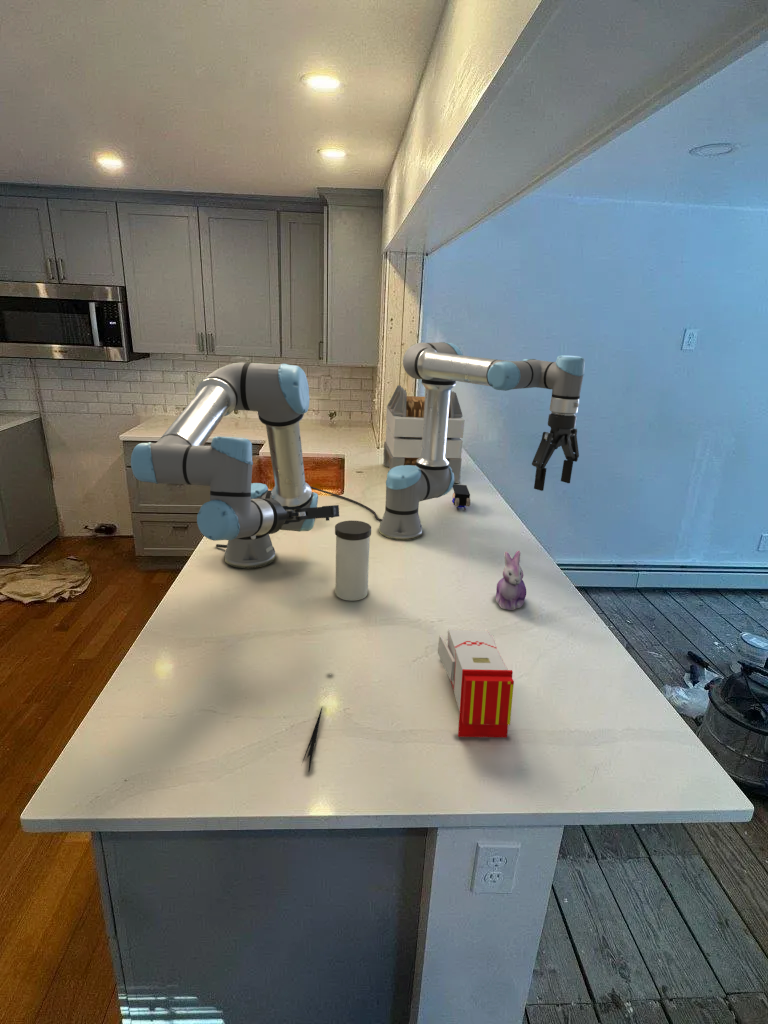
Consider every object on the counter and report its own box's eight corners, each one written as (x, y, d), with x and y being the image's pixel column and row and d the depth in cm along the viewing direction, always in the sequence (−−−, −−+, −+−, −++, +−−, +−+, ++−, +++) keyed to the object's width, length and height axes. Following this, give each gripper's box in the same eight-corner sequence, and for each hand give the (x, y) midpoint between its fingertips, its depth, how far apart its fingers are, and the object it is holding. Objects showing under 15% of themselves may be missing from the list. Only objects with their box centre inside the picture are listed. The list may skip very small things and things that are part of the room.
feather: (331, 679, 122) (336, 673, 122) (307, 777, 96) (313, 769, 95) (324, 675, 122) (329, 669, 121) (298, 772, 95) (304, 764, 95)
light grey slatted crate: (382, 463, 289) (386, 382, 275) (445, 464, 293) (451, 384, 279) (390, 482, 257) (394, 392, 243) (460, 483, 261) (468, 394, 247)
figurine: (508, 614, 149) (515, 562, 144) (485, 597, 158) (490, 547, 153) (536, 607, 153) (543, 557, 148) (511, 591, 162) (518, 542, 157)
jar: (367, 585, 162) (369, 522, 155) (367, 600, 153) (370, 535, 147) (336, 584, 161) (337, 522, 155) (334, 600, 153) (335, 534, 146)
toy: (488, 613, 130) (523, 677, 101) (484, 667, 133) (517, 744, 104) (435, 612, 130) (455, 676, 101) (432, 666, 133) (451, 743, 103)
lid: (370, 527, 156) (371, 520, 156) (371, 540, 147) (371, 534, 146) (335, 526, 156) (335, 520, 155) (334, 539, 147) (334, 533, 146)
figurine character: (470, 515, 225) (465, 499, 238) (472, 498, 221) (467, 483, 235) (453, 515, 224) (449, 499, 238) (455, 497, 221) (451, 482, 234)
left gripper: (213, 537, 122) (270, 530, 142) (313, 532, 112) (360, 525, 132) (210, 502, 122) (268, 500, 141) (311, 494, 112) (358, 493, 132)
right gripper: (548, 419, 148) (537, 496, 155) (598, 411, 163) (586, 482, 171) (525, 414, 153) (515, 489, 160) (575, 407, 169) (564, 476, 176)
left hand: (312, 512), depth 137 cm, fingers open, 13 cm apart
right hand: (552, 485), depth 166 cm, fingers open, 13 cm apart
